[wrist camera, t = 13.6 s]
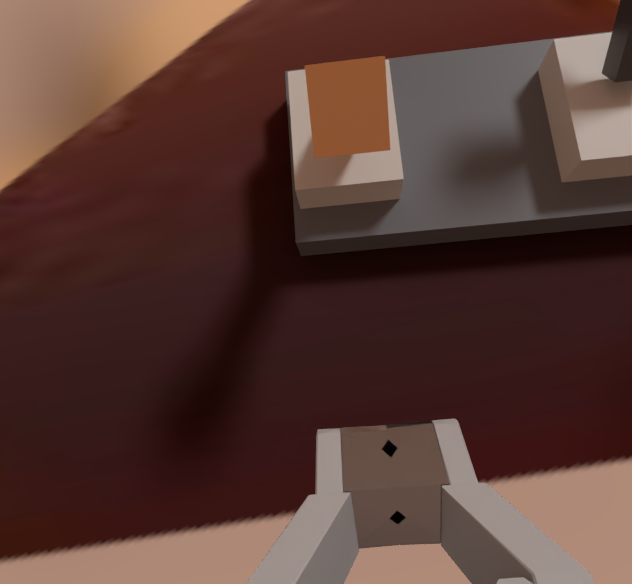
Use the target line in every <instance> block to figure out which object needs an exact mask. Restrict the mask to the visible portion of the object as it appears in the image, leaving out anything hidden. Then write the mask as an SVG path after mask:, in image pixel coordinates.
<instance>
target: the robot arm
mask: <svg viewBox="0 0 632 584" xmlns="http://www.w3.org/2000/svg"><path fill="white" fill-rule="evenodd" d="M438 543H441V546H442V547H443V548H444V550H445V551H446V552H447V553H448V555H449V556H450V557H451V558H452V560H453V561H454V562H455V563H456V564H457V566H458V567H459V568H460V569H461V571H462V572H463V573H464V574H465V576H466V577H467V578H468V579H469V581H470V582H471V583H472V584H595V583H594V581H593V579H592V577H591V575H590V572H589V571H588V570H586V569H585V568H584V567H583V566H582V565H581V564H579V563H578V562H577V561H576V560H575V559H574V558H572V557H571V556H570V555H569V554H568V553H567V552H566V551H564V550H563V549H562V548H561V547H560V546H559V545H557V544H556V543H555V542H554V541H553V540H552V539H550V538H549V537H548V536H547V535H546V534H545V533H543V532H542V531H541V530H540V529H539V528H538V527H536V526H535V525H534V524H533V523H532V522H531V521H530V520H528V519H527V518H526V517H525V516H524V515H522V514H521V513H520V512H519V511H518V510H517V509H516V508H514V507H513V506H512V505H511V504H510V503H509V502H507V501H506V500H505V499H504V498H503V497H502V496H500V495H499V494H498V493H497V492H496V491H495V490H493V489H492V488H491V487H490V486H489V485H488V484H487V483H478V481H477V478H476V475H475V472H474V469H473V466H472V463H471V460H470V457H469V454H468V451H467V448H466V445H465V441H464V438H463V435H462V432H461V429H460V426H459V423H458V421H457V420H456V419H445V420H433V421H432V422H431V421H421V422H410V423H399V424H388V425H382V426H364V427H346V428H335V429H318V431H317V435H316V491H315V495H308V497H307V498H306V500H305V501H304V502H303V504H302V505H301V507H300V508H299V509H298V511H297V512H296V514H295V515H294V517H293V518H292V519H291V521H290V522H289V524H288V525H287V526H286V528H285V530H284V531H283V532H282V534H281V535H280V536H279V538H278V539H277V541H276V542H275V544H274V545H273V546H272V548H271V549H270V551H269V552H268V553H267V555H266V556H265V558H264V559H263V561H262V562H261V563H260V565H259V566H258V568H257V569H256V570H255V572H254V573H253V575H252V576H251V578H250V579H249V580H248V582H247V583H246V584H344V582H345V580H346V577H347V575H348V573H349V571H350V569H351V567H352V565H353V563H354V561H355V558H356V557H357V554H358V552H359V548H369V547H380V546H392V545H409V544H438Z"/></svg>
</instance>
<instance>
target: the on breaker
mask: <svg viewBox="0 0 632 584" xmlns="http://www.w3.org/2000/svg"><path fill="white" fill-rule="evenodd" d="M602 74H603V75H605V76H606V77H608V78H609V79H610V80H612V81H613V82H623V81H632V0H621V1H620V5H619V9H618V13H617V16H616V20H615V24H614V28H613V32H612V35H611V39H610V43H609V47H608V51H607V54H606V58H605V62H604V66H603V70H602Z"/></svg>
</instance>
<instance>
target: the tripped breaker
mask: <svg viewBox="0 0 632 584" xmlns="http://www.w3.org/2000/svg"><path fill="white" fill-rule="evenodd" d="M305 74H306V84H307V93H308V103H309V113H310V123H311V132H312V142H313V152H314V158H323V157H332V156H341V155H351V154H360V153H369V152H378V151H388V150H390V134H389V117H388V99H387V82H386V65H385V56H379V57H371V58H362V59H354V60H346V61H338V62H330V63H321V64H313V65H305Z"/></svg>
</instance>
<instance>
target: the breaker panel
mask: <svg viewBox="0 0 632 584" xmlns="http://www.w3.org/2000/svg"><path fill="white" fill-rule="evenodd" d="M611 35H612V32H604V33H596V34H588V35H580V36H571V37H563V38H555V39H547V40H538V41H530V42H522V43H514V44H505V45H497V46H489V47H481V48H472V49H464V50H456V51H448V52H439V53H431V54H423V55H415V56H406V57H398V58H390V59H385V65H386V82H387V99H388V117H389V134H390V150H388V151H378V152H369V153H360V154H351V155H341V156H332V157H323V158H314V152H313V142H312V132H311V123H310V113H309V103H308V93H307V84H306V74H305V69H299V70H291V71H285V79H286V95H287V111H288V127H289V143H290V159H291V175H292V191H293V207H294V223H295V239H296V245H297V247H298V250H299V253H300V255H301V256H308V255H319V254H330V253H340V252H351V251H361V250H372V249H383V248H393V247H404V246H415V245H425V244H436V243H446V242H457V241H468V240H478V239H489V238H499V237H510V236H521V235H531V234H542V233H552V232H563V231H574V230H584V229H595V228H605V227H616V226H627V225H632V81H623V82H613V81H612V80H610V79H609V78H608V77H606V76H605V75H603V74H602V70H603V66H604V62H605V58H606V54H607V51H608V47H609V43H610V39H611Z"/></svg>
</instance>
